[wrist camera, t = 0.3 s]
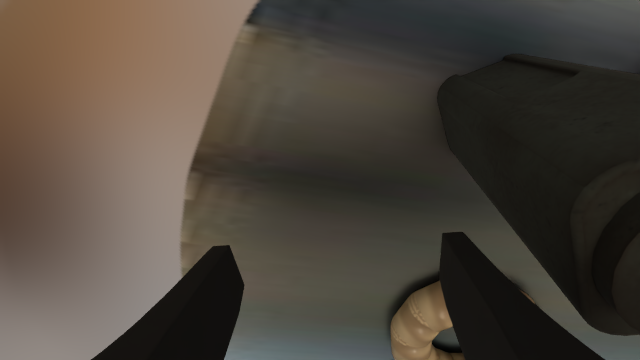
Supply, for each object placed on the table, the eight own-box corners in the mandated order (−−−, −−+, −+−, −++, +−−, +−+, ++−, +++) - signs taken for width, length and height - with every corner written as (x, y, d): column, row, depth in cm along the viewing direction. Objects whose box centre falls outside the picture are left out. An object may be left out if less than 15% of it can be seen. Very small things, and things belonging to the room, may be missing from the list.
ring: (478, 384, 28) (491, 421, 26) (365, 340, 27) (366, 374, 25) (568, 302, 24) (596, 337, 21) (436, 246, 23) (447, 276, 20)
